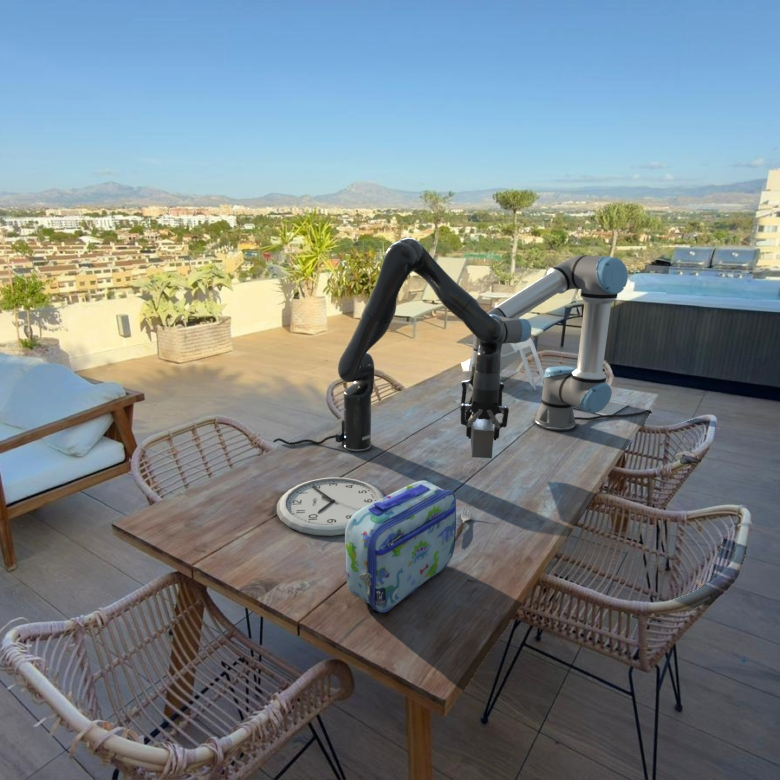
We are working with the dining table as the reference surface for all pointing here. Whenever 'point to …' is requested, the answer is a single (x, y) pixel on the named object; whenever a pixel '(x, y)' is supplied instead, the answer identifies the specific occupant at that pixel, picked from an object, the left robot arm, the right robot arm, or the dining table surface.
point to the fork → (464, 518)
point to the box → (482, 438)
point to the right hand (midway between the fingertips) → (479, 431)
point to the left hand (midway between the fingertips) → (482, 438)
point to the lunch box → (399, 543)
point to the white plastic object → (512, 358)
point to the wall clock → (325, 504)
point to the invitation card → (611, 408)
